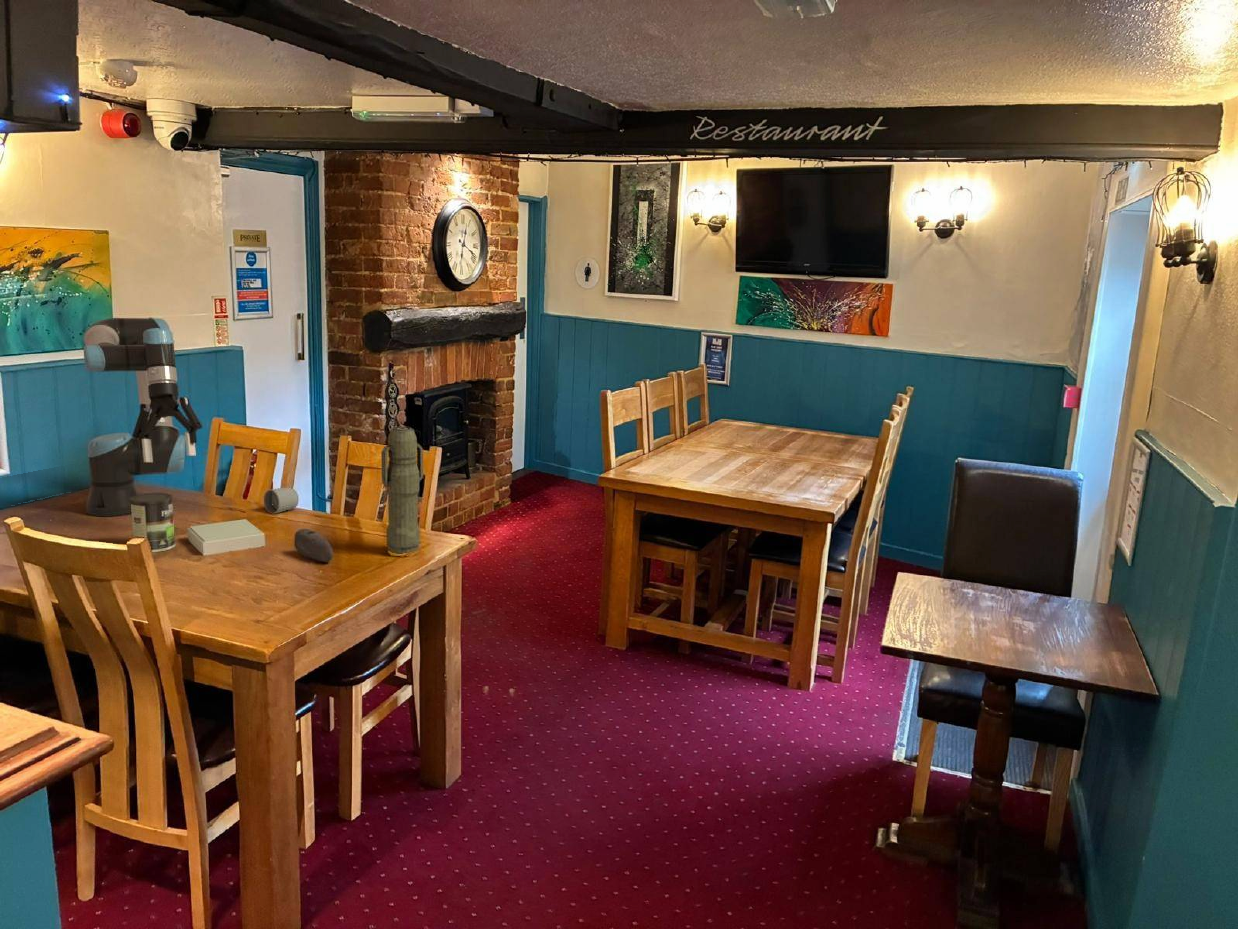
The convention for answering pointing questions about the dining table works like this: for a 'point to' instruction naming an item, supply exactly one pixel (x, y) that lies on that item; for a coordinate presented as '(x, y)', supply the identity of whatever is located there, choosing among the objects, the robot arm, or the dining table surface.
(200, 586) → the dining table surface
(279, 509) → the grey cylinder
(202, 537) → the plinth
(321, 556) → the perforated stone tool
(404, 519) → the thermos
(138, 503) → the coffee can
